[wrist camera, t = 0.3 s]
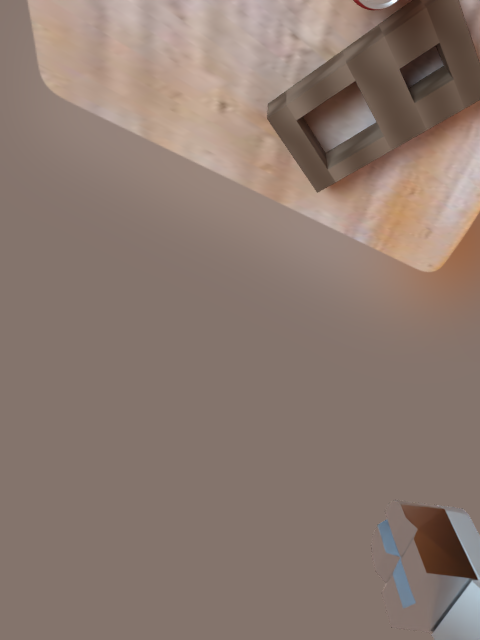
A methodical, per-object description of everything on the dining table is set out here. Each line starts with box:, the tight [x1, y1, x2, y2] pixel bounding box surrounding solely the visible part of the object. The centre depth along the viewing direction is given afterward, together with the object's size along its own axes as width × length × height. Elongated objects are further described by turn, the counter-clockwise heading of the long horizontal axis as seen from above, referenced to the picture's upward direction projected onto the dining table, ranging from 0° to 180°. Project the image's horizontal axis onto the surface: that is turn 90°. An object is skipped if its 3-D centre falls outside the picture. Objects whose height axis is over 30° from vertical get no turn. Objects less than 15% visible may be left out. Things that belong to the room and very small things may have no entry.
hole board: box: [267, 0, 480, 193], centre depth 49 cm, size 20×11×4 cm, turn 127°
